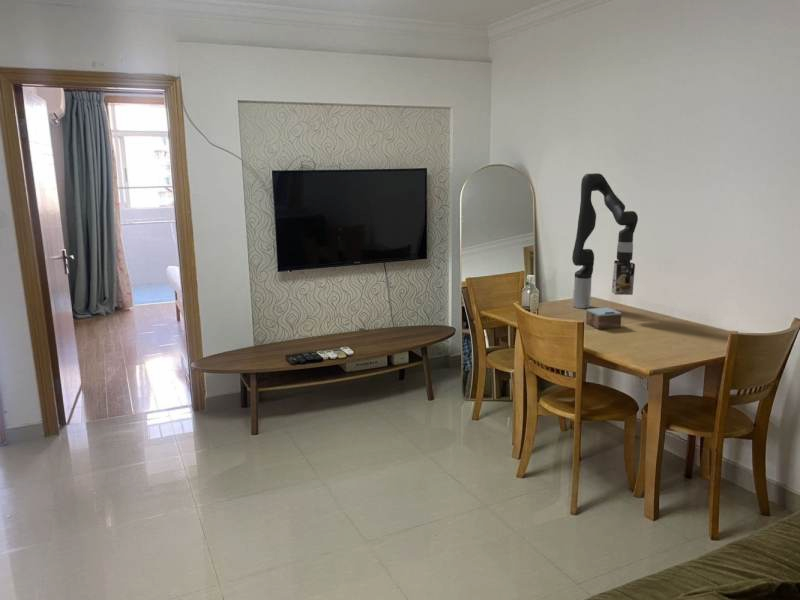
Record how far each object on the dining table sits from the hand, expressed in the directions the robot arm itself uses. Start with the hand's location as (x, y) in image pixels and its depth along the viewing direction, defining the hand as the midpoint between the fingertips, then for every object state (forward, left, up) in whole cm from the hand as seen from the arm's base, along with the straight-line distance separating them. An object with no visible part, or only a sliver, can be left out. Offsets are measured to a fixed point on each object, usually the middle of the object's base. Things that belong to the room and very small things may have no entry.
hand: (622, 282), depth 309 cm
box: (+9, -16, -20) cm, 27 cm away
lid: (+9, -16, -13) cm, 22 cm away
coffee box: (0, 0, -6) cm, 6 cm away
